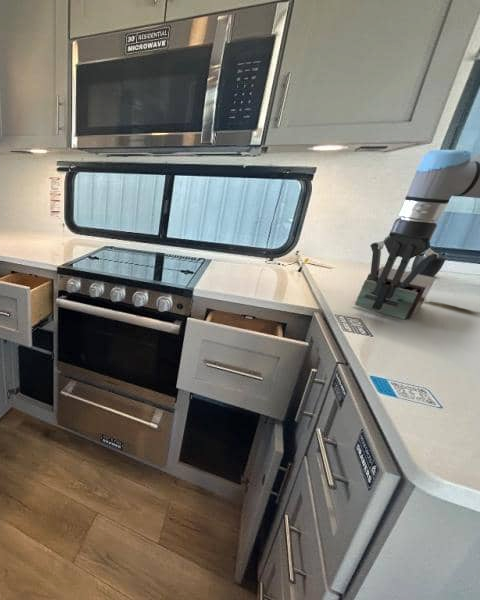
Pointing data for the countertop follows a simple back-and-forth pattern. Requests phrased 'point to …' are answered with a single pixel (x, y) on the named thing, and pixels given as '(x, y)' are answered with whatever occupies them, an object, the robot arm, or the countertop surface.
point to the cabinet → (417, 282)
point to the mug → (429, 265)
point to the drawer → (388, 300)
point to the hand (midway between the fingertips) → (376, 308)
